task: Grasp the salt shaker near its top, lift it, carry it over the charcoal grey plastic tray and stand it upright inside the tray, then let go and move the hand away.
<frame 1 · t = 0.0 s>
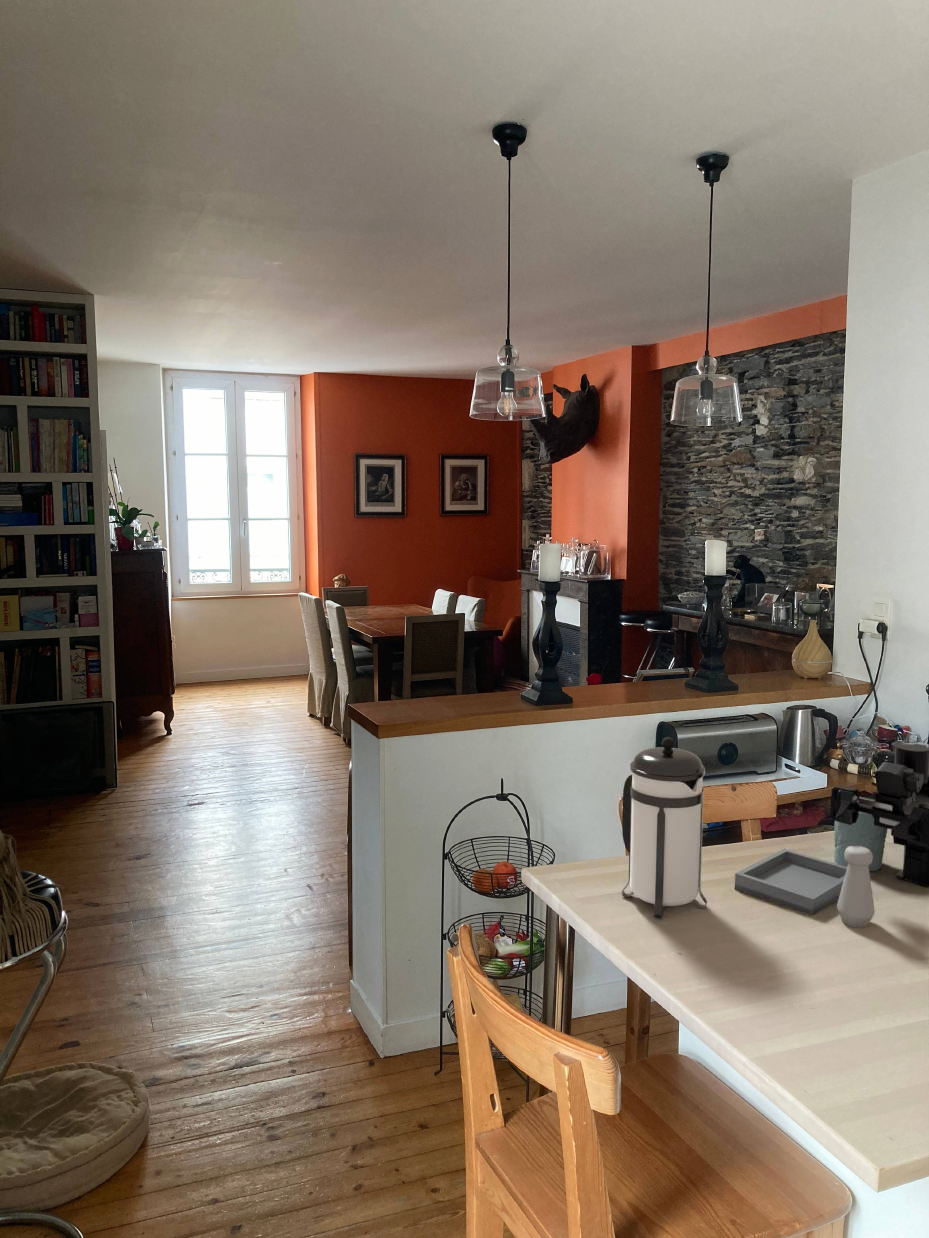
hand: (864, 825, 153), 17 cm above the table, tool horizontal, fingers open, 9 cm apart
coffee press: (657, 900, 163), on the table
tray: (797, 887, 168), on the table
teal cup: (859, 864, 180), on the table
salt shaker: (854, 923, 154), on the table
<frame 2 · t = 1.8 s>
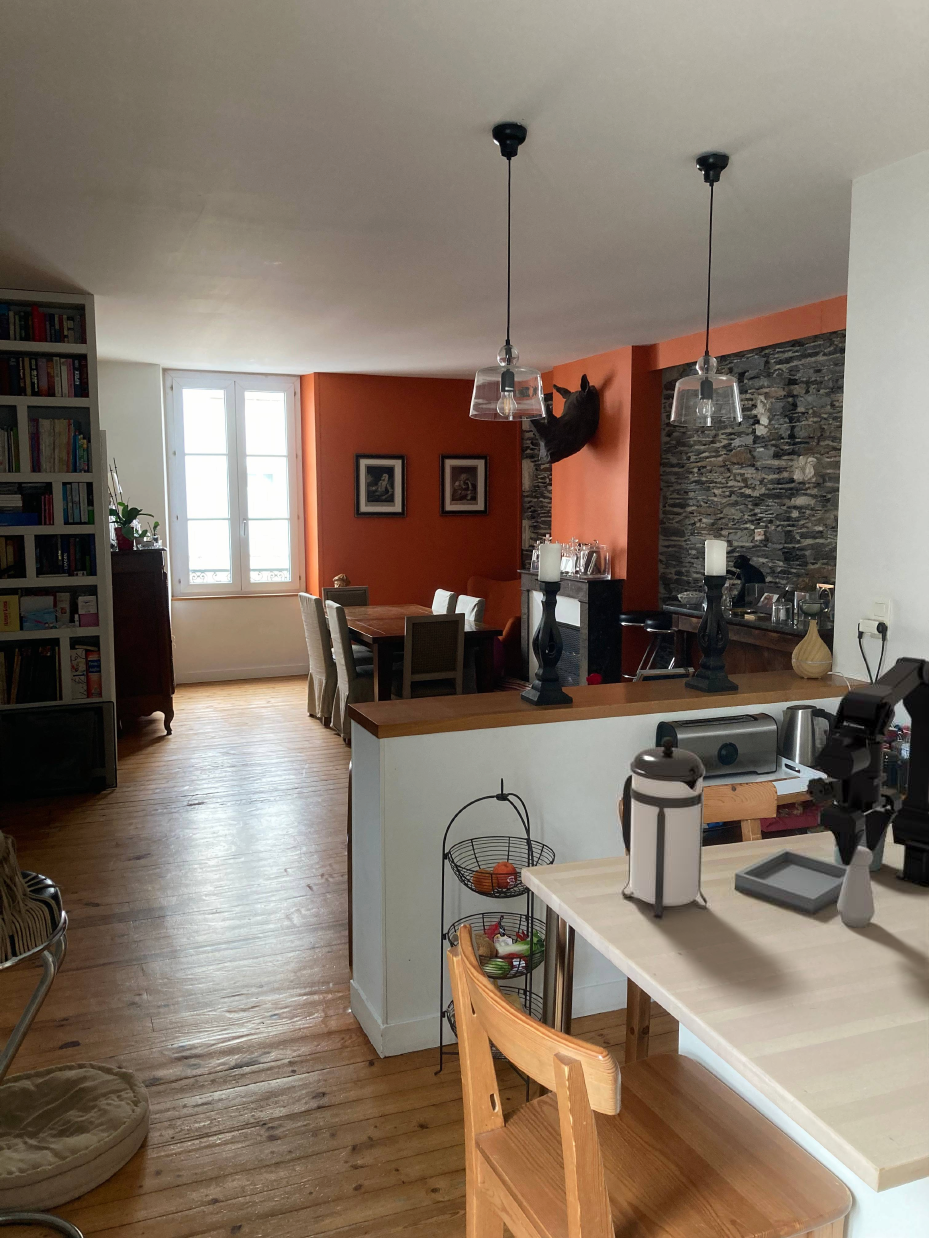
hand: (858, 857, 153), 11 cm above the table, tool pointing down, fingers open, 9 cm apart
nothing on the table moved.
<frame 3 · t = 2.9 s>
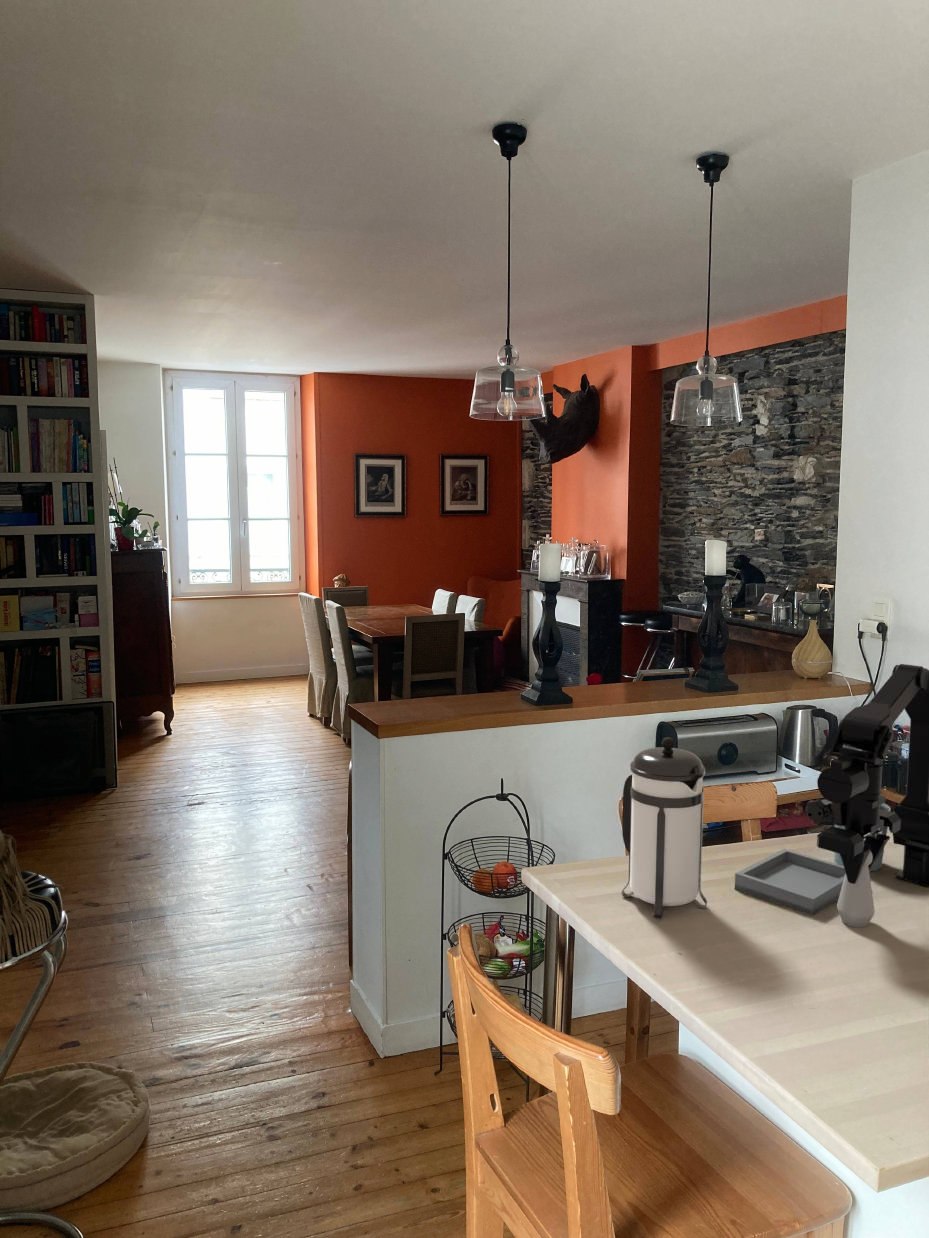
hand: (857, 879, 153), 8 cm above the table, tool pointing down, fingers closed on salt shaker, 4 cm apart
salt shaker: (854, 923, 154), on the table, touching gripper
everything else where it was.
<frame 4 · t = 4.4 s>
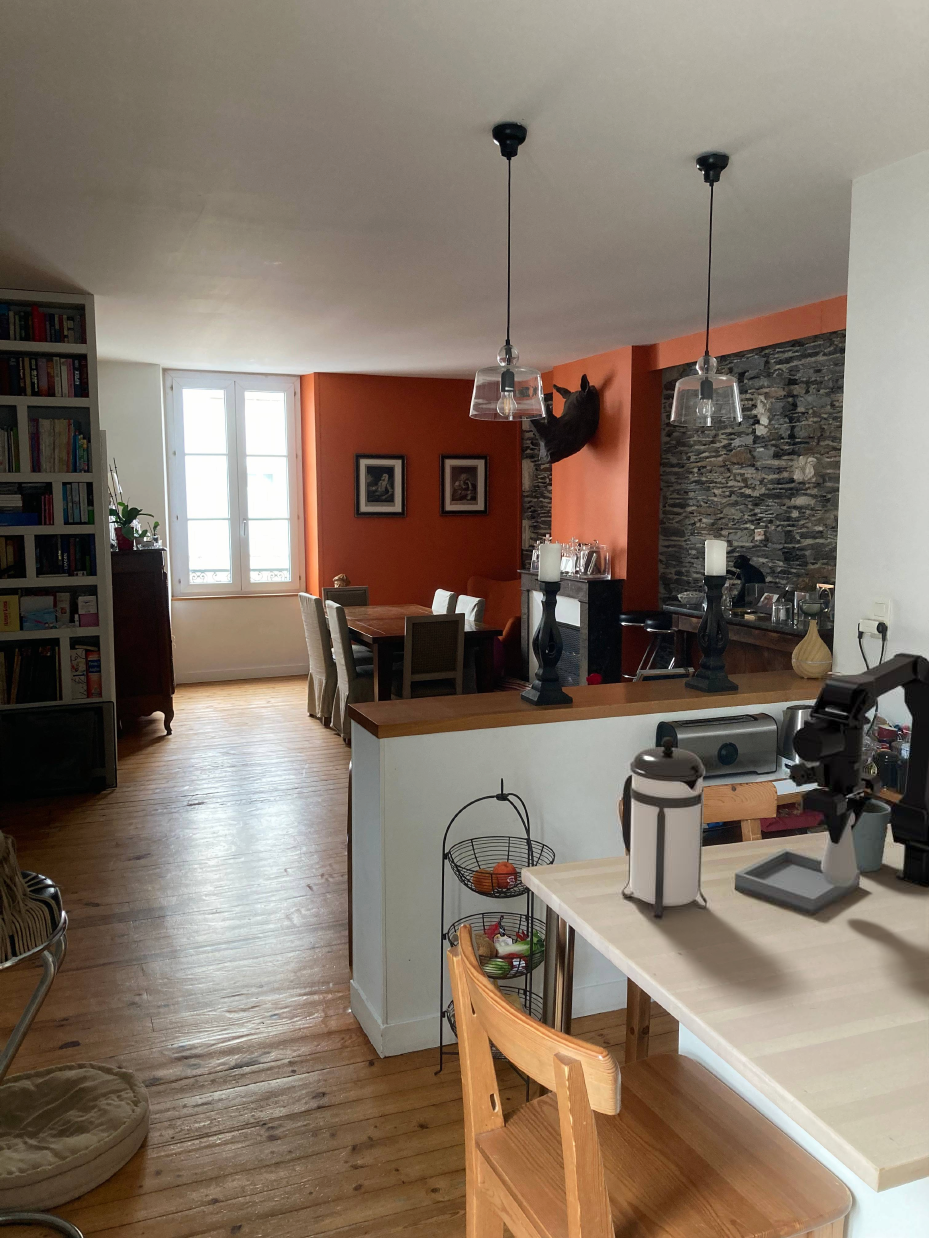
hand: (840, 840, 157), 13 cm above the table, tool pointing down, fingers closed on salt shaker, 4 cm apart
salt shaker: (838, 883, 158), point 5 cm above the table, touching gripper
everything else where it was.
when the fingers open (9 cm above the table, at t = 6.2 s): salt shaker stays where it is, resting on tray.
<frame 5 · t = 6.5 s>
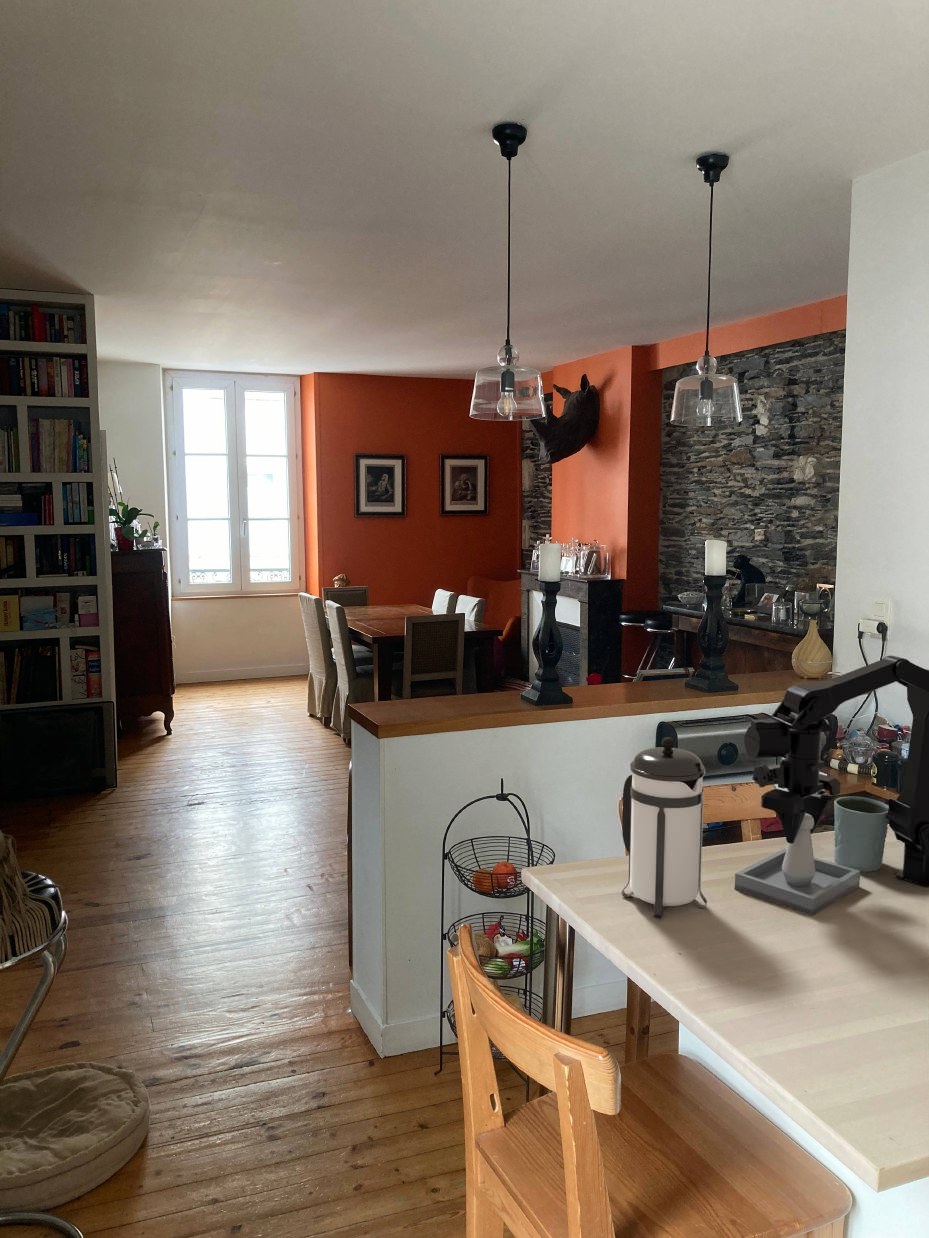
hand: (799, 838, 167), 9 cm above the table, tool pointing down, fingers open, 7 cm apart
salt shaker: (797, 883, 168), point 1 cm above the table, touching tray
everything else where it was.
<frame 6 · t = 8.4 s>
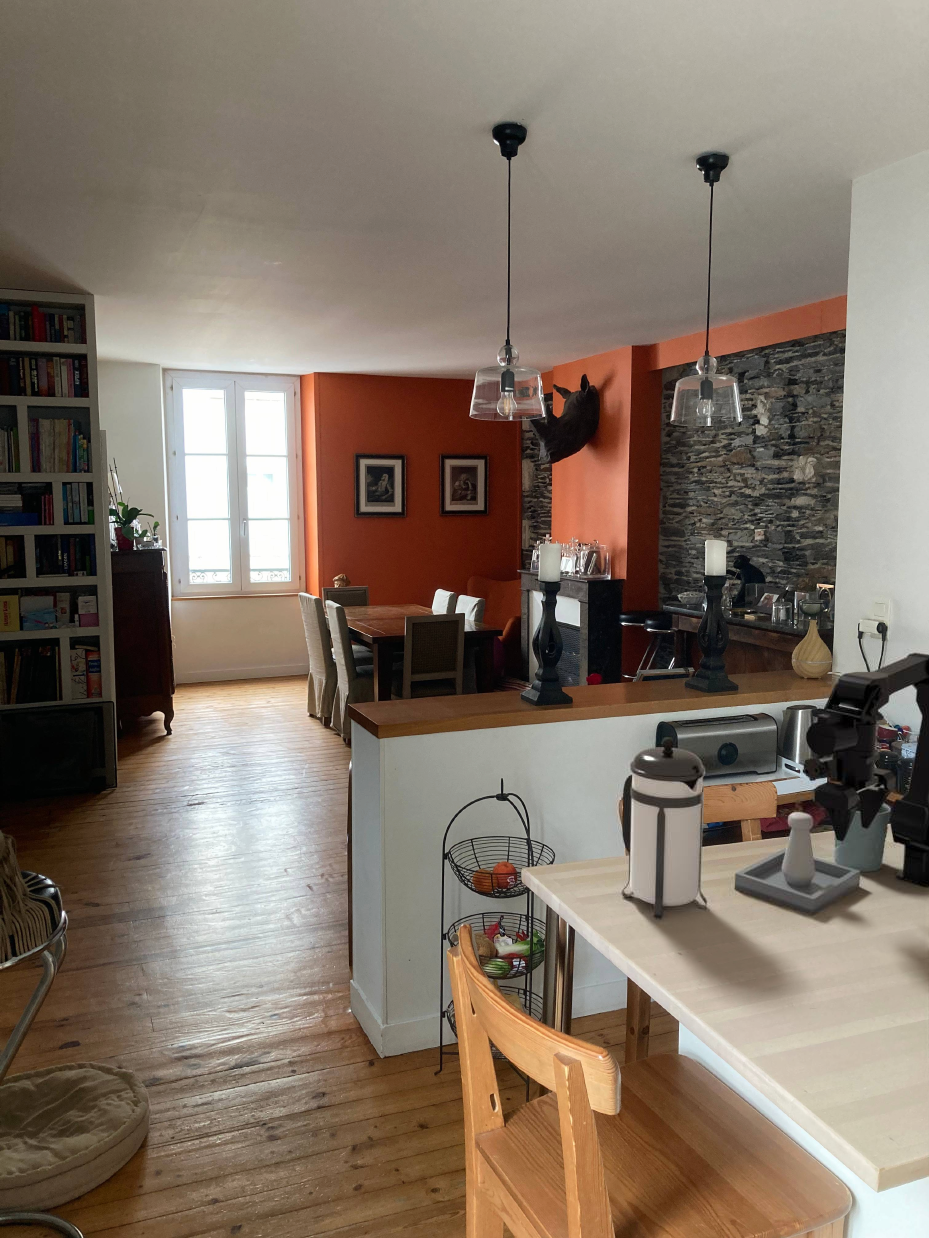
hand: (852, 834, 160), 13 cm above the table, tool pointing down, fingers open, 9 cm apart
nothing on the table moved.
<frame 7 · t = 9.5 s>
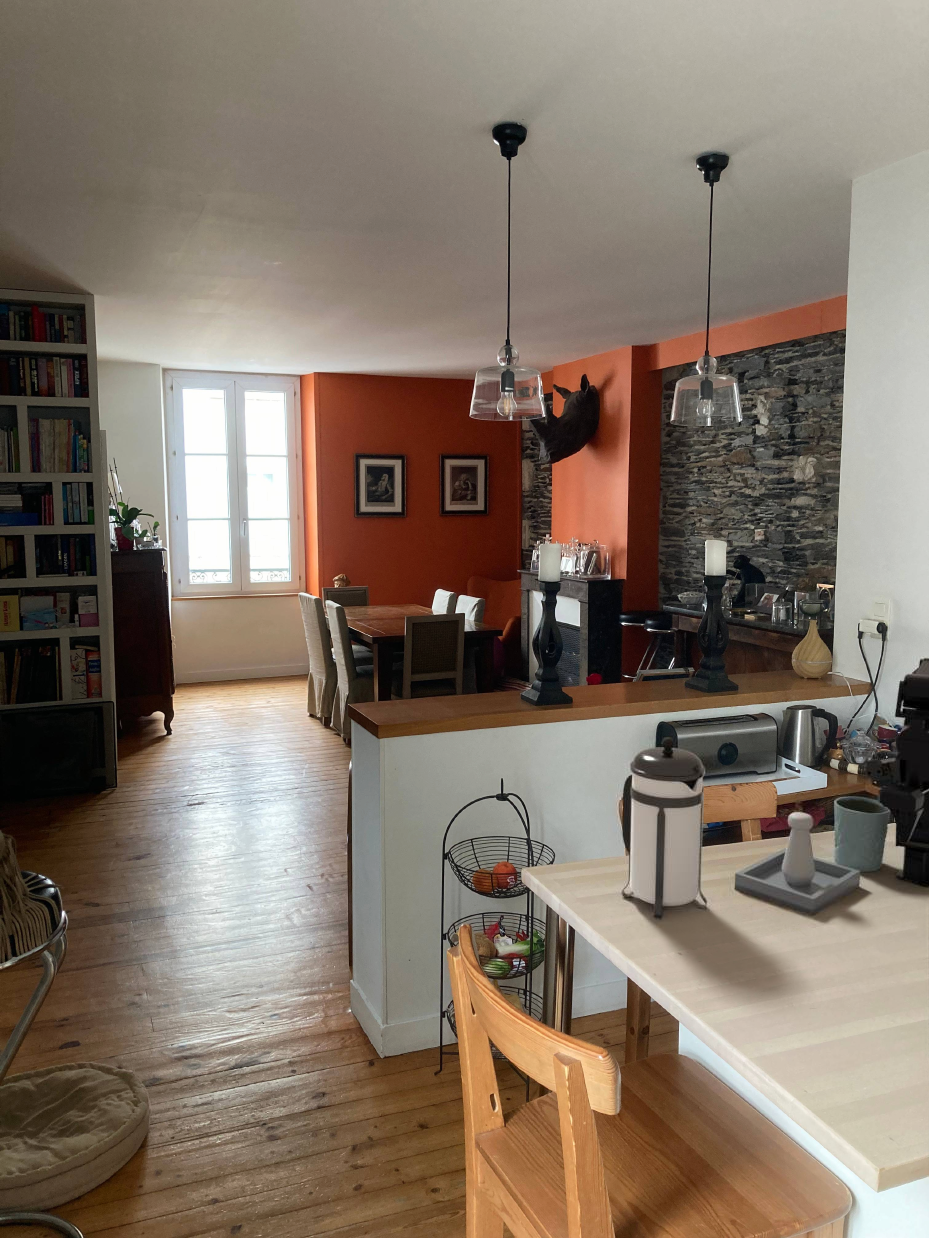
hand: (915, 835, 158), 13 cm above the table, tool pointing down, fingers open, 9 cm apart
nothing on the table moved.
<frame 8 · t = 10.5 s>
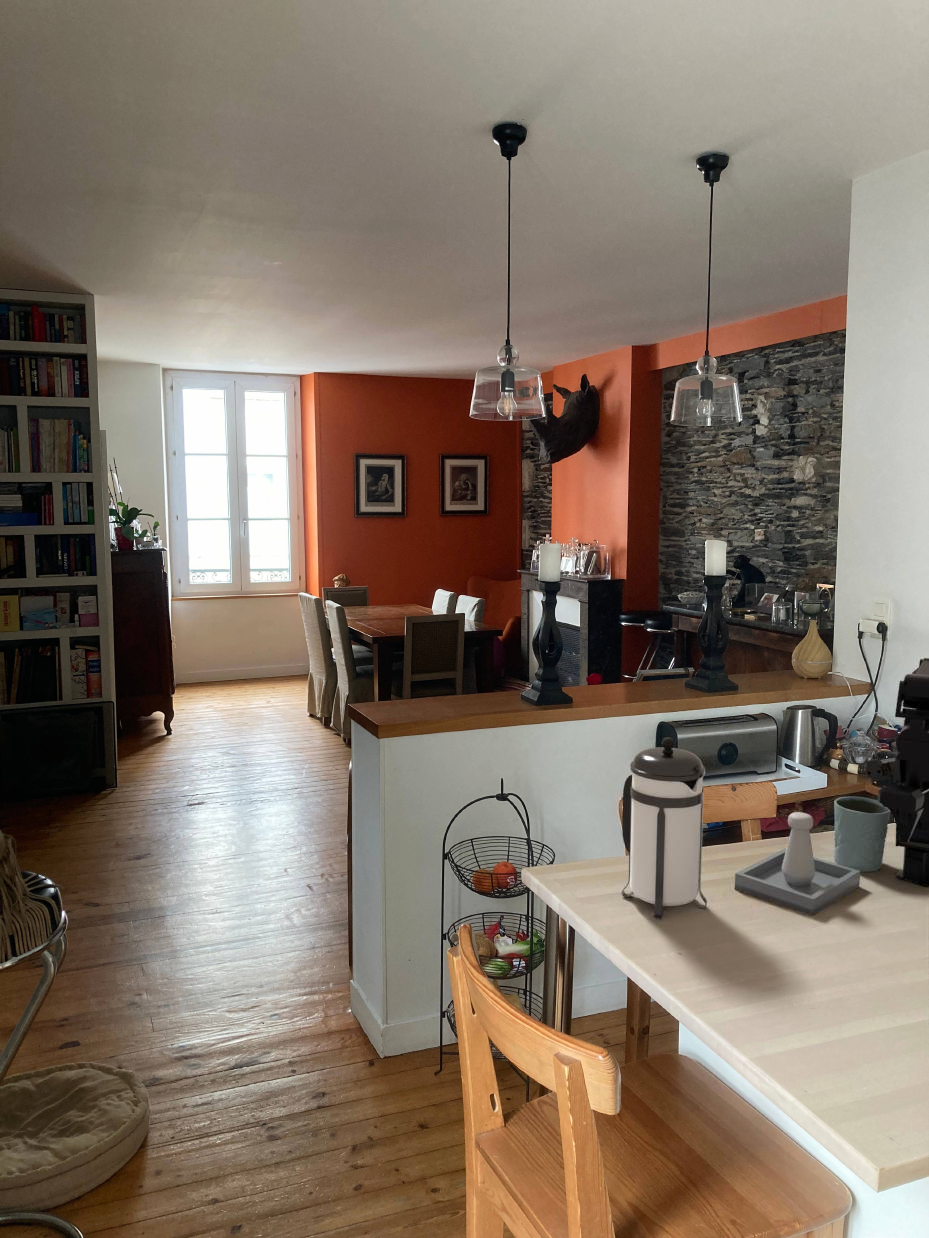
hand: (915, 835, 158), 13 cm above the table, tool pointing down, fingers open, 9 cm apart
nothing on the table moved.
at the end: salt shaker inside the target area on the tray (0.0 cm from its centre), point 0.8 cm above the tray's base; salt shaker tilted 0°; the gripper is holding nothing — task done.
